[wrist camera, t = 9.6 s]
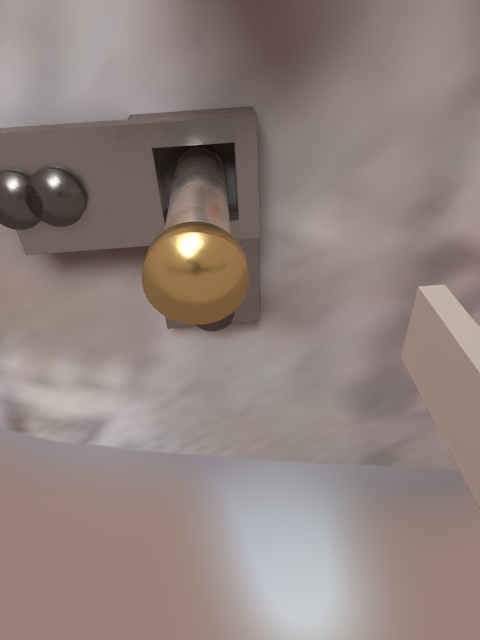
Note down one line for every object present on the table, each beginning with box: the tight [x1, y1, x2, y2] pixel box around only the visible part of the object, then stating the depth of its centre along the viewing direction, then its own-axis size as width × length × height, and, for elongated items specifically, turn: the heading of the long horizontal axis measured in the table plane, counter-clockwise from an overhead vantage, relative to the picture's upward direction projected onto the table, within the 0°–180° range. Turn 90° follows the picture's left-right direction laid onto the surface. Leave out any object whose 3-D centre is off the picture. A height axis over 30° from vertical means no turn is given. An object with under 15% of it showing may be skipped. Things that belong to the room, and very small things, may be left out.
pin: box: [142, 147, 249, 325], centre depth 21 cm, size 4×4×13 cm
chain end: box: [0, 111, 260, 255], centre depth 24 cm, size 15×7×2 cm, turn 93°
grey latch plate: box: [127, 107, 260, 331], centre depth 28 cm, size 15×7×2 cm, turn 3°
